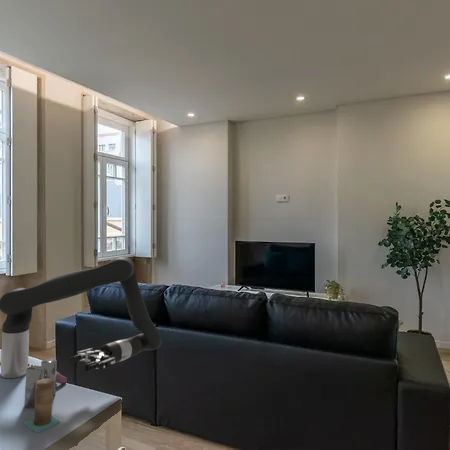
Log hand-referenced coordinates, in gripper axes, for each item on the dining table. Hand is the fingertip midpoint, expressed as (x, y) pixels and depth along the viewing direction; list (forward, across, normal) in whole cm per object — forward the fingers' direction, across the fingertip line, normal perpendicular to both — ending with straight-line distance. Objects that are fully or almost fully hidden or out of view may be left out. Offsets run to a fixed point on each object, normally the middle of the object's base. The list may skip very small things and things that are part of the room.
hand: (76, 364), depth 121 cm
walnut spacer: (+12, +2, +13) cm, 18 cm away
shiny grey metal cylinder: (+2, -13, +14) cm, 19 cm away
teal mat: (+12, +2, +14) cm, 18 cm away
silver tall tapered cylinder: (+8, -11, +14) cm, 20 cm away
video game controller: (-5, -21, +14) cm, 26 cm away
